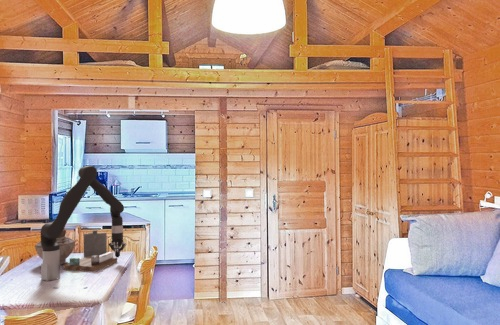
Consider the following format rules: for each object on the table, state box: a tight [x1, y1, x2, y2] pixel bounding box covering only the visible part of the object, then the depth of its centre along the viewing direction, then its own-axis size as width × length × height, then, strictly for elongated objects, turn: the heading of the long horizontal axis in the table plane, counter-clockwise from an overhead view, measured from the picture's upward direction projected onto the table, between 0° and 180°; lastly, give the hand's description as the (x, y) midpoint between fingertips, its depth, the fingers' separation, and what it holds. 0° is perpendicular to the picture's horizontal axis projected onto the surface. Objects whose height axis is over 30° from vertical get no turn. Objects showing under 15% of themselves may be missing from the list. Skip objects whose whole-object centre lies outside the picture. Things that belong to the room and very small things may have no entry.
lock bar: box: [91, 251, 114, 265], centre depth 268 cm, size 20×5×5 cm, turn 166°
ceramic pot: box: [34, 227, 76, 266], centre depth 276 cm, size 25×25×24 cm
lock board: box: [62, 256, 118, 272], centre depth 269 cm, size 24×25×7 cm
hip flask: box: [83, 229, 108, 258], centre depth 294 cm, size 16×4×20 cm, turn 105°
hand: (117, 257), depth 273 cm, fingers closed
